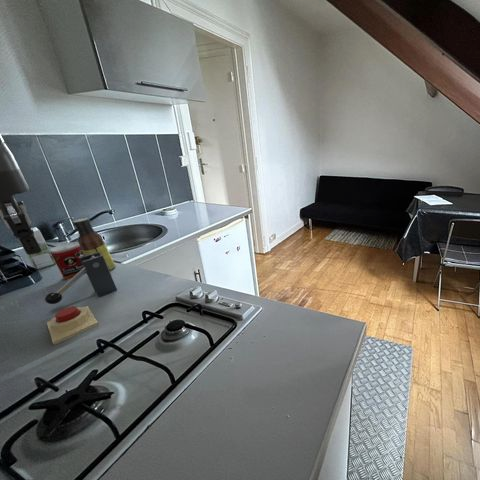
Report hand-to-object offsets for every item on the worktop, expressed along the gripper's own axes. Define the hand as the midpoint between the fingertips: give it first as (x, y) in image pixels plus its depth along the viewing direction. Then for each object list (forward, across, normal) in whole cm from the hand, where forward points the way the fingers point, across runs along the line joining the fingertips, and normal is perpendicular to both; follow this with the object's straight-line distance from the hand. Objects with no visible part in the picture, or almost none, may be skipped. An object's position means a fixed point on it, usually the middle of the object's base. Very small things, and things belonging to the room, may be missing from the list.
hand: (34, 252), depth 56 cm
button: (+17, 0, 0) cm, 17 cm away
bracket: (+21, -12, +9) cm, 26 cm away
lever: (+14, -12, +5) cm, 19 cm away
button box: (+21, 0, 0) cm, 21 cm away
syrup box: (+21, -59, 0) cm, 63 cm away
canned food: (+21, -37, +6) cm, 43 cm away
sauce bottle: (+21, -30, +12) cm, 39 cm away
